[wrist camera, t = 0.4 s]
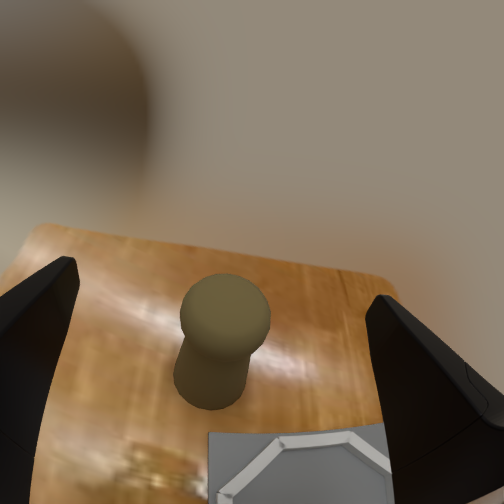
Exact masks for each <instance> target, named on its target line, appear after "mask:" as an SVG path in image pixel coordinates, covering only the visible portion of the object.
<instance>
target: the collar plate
mask: <svg viewBox="0 0 504 504" xmlns="http://www.w3.org/2000/svg"><path fill="white" fill-rule="evenodd" d="M391 474H392V473H391V466H390V459H389V452H388V446H387V440H386V433H385V428H384V423H379V424H373V425H367V426H360V427H353V428H345V429H336V430H326V431H315V432H300V433H275V434H241V433H217V432H209V433H208V504H395V502H394V492H393V483H392V475H391Z"/></svg>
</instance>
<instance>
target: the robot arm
mask: <svg viewBox="0 0 504 504" xmlns="http://www.w3.org/2000/svg"><path fill="white" fill-rule="evenodd" d="M79 286H80V279H79V274H78V269H77V263H76V260H75V259H74V258H73V257H67V256H61V257H59V258H58V259H56V260H55V261H53V262H51V263H50V264H48V265H47V266H45V267H44V268H42V269H40V270H39V271H37V272H36V273H34V274H33V275H31V276H30V277H28V278H27V279H25V280H24V281H22V282H21V283H19V284H18V285H16V286H15V287H13V288H12V289H11V290H9V291H8V292H6V293H5V294H3V295H2V296H1V297H0V504H29V498H30V488H31V480H32V472H33V465H34V459H35V458H34V457H35V452H36V446H37V441H38V436H39V431H40V426H41V422H42V417H43V413H44V409H45V405H46V401H47V397H48V393H49V390H50V386H51V383H52V379H53V376H54V372H55V369H56V366H57V363H58V359H59V356H60V353H61V350H62V347H63V344H64V341H65V338H66V335H67V332H68V328H69V324H70V320H71V316H72V313H73V309H74V305H75V301H76V298H77V294H78V291H79ZM365 321H366V328H367V335H368V342H369V349H370V357H371V363H372V367H373V372H374V377H375V381H376V386H377V391H378V396H379V401H380V406H381V411H382V416H383V422H384V428H385V433H386V440H387V446H388V452H389V459H390V466H391V473H392V474H391V475H392V483H393V492H394V502H395V504H504V395H503V394H502V393H500V392H499V391H498V390H497V389H495V387H493V386H492V385H491V384H490V383H488V382H487V381H486V380H485V379H484V378H483V377H482V376H481V375H479V374H478V373H477V372H476V371H475V370H474V369H473V368H472V367H471V366H469V364H467V363H466V362H464V360H463V359H462V358H461V357H460V356H459V355H457V354H456V353H455V352H454V351H453V350H452V349H451V348H450V347H449V346H448V345H446V344H445V343H444V342H443V341H442V340H441V339H440V338H439V337H438V336H436V335H435V334H434V333H433V332H432V331H431V330H430V329H428V328H427V327H426V326H425V325H424V324H423V323H421V322H420V321H419V320H418V319H417V318H416V317H414V316H413V315H412V314H411V313H410V312H409V311H407V310H406V309H405V308H404V307H403V306H402V305H400V304H399V303H398V302H397V301H396V300H394V299H393V298H392V297H391V296H389V295H377V296H376V297H375V299H374V301H373V302H372V304H371V306H370V307H369V309H368V311H367V313H366V316H365Z"/></svg>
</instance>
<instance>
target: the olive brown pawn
mask: <svg viewBox="0 0 504 504" xmlns="http://www.w3.org/2000/svg"><path fill="white" fill-rule="evenodd" d="M270 317H271V311H270V308H269V305H268V302H267V299H266V298H265V296H264V295H263V293H262V292H261V291H260V289H259V288H258V287H257V286H255V285H254V284H253V283H252V282H250V281H249V280H247V279H245V278H242V277H240V276H237V275H232V274H215V275H211V276H208V277H205V278H203V279H202V280H200V281H199V282H197V283H196V284H194V285H193V286H192V287H191V288H190V290H189V291H188V292H187V294H186V295H185V297H184V299H183V302H182V306H181V309H180V321H181V329H182V331H183V333H184V335H185V338H184V341H183V344H182V346H181V349H180V352H179V355H178V358H177V361H176V364H175V369H174V373H173V376H174V383H175V386H176V388H177V390H178V392H179V394H180V395H181V396H182V397H183V398H184V399H185V400H186V401H187V402H188V403H190V404H192V405H194V406H196V407H198V408H201V409H206V410H217V409H223V408H225V407H228V406H230V405H232V404H233V403H234V402H235V401H236V400H237V399H238V398H239V397H240V396H241V394H242V392H243V390H244V388H245V384H246V378H247V373H248V368H249V362H250V357H251V354H252V353H254V352H255V351H256V350H257V349H258V348H259V347H260V346H261V345H262V344H263V342H264V340H265V338H266V336H267V334H268V332H269V330H270Z"/></svg>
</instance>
